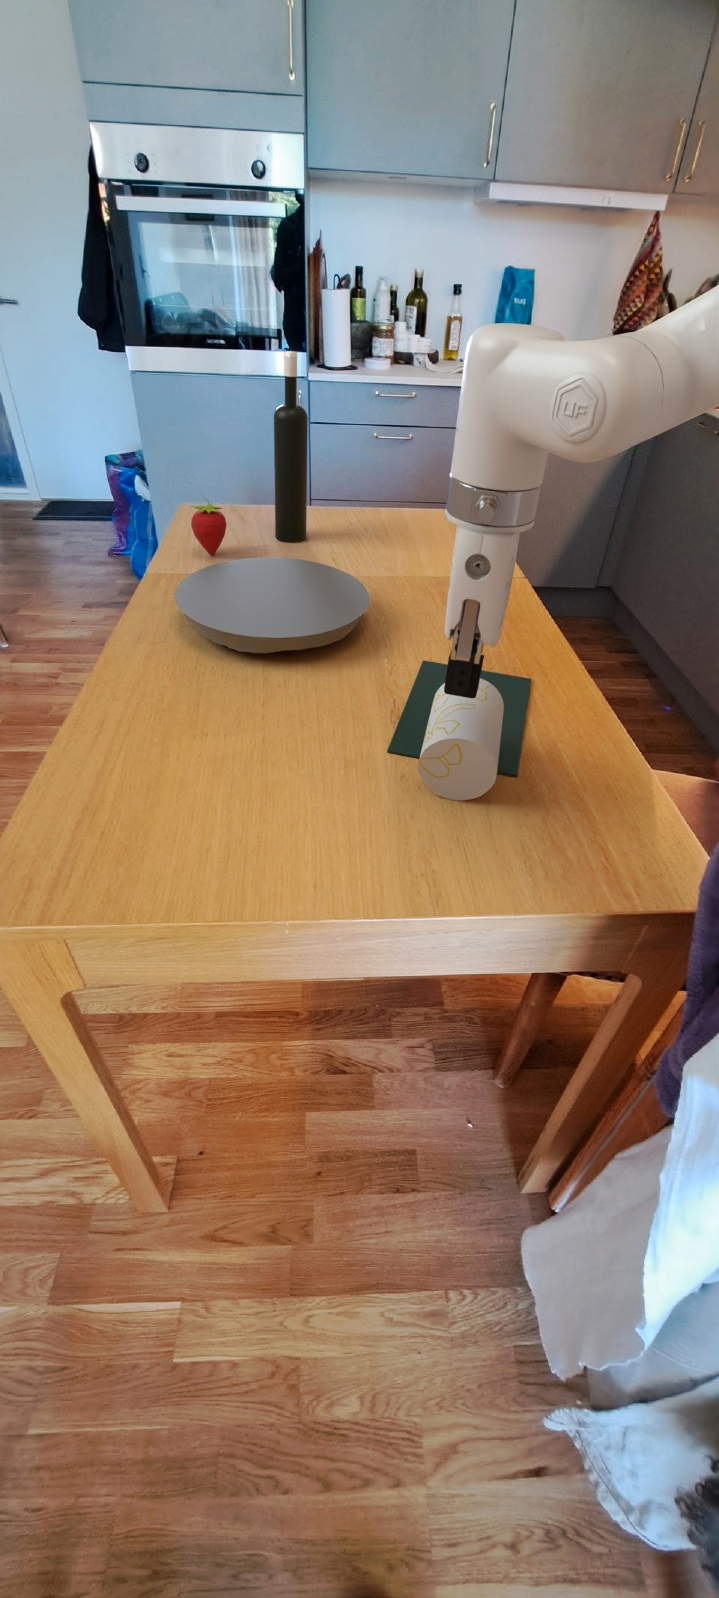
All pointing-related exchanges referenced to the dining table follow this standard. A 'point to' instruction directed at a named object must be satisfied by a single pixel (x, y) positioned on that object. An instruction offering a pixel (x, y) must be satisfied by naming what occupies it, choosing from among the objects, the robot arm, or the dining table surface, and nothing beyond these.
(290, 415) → the wine bottle
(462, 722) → the cup
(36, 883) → the dining table surface
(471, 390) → the robot arm
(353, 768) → the dining table surface
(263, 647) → the flat disc
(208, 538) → the strawberry
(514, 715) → the mat
